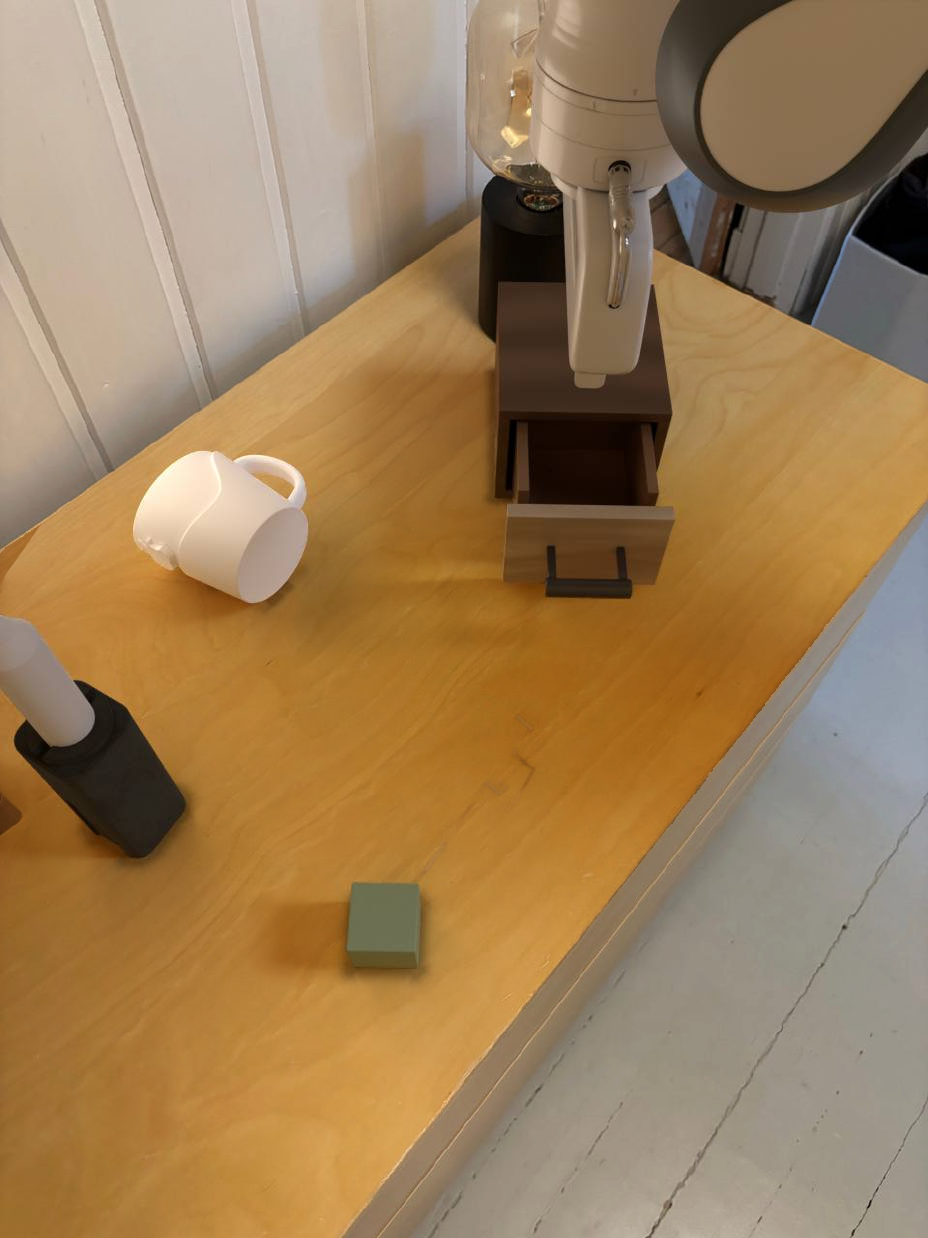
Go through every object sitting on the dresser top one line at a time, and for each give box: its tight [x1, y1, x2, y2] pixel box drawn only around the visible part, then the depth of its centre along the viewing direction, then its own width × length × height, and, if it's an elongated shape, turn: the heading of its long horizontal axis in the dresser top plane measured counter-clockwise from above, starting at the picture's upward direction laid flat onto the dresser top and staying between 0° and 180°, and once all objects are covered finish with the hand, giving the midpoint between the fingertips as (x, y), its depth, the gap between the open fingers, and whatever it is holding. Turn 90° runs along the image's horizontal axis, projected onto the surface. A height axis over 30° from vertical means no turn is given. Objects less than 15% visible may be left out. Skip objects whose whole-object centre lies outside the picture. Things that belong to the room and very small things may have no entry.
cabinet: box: [493, 281, 674, 499], centre depth 77 cm, size 15×13×10 cm
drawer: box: [502, 420, 676, 600], centre depth 70 cm, size 18×12×8 cm, turn 179°
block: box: [345, 881, 422, 969], centre depth 56 cm, size 4×4×4 cm
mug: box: [132, 450, 309, 604], centre depth 71 cm, size 12×9×8 cm
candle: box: [0, 613, 186, 859], centre depth 52 cm, size 5×5×25 cm
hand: (585, 328), depth 60 cm, fingers open, 8 cm apart
